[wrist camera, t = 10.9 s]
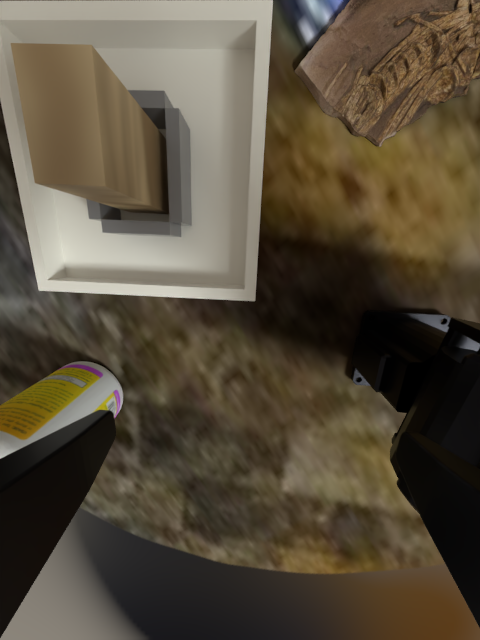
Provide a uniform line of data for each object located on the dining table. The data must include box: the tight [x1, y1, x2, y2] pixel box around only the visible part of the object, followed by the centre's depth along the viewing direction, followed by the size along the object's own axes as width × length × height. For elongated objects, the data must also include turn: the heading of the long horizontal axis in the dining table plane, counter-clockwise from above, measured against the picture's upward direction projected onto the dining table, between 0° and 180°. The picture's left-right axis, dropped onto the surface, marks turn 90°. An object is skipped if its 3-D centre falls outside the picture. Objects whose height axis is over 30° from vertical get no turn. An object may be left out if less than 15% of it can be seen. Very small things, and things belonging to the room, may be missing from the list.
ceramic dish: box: [0, 0, 273, 301], centre depth 16 cm, size 16×16×3 cm
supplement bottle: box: [0, 361, 123, 459], centre depth 17 cm, size 7×7×13 cm
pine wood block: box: [11, 43, 169, 214], centre depth 13 cm, size 3×4×8 cm, turn 177°
